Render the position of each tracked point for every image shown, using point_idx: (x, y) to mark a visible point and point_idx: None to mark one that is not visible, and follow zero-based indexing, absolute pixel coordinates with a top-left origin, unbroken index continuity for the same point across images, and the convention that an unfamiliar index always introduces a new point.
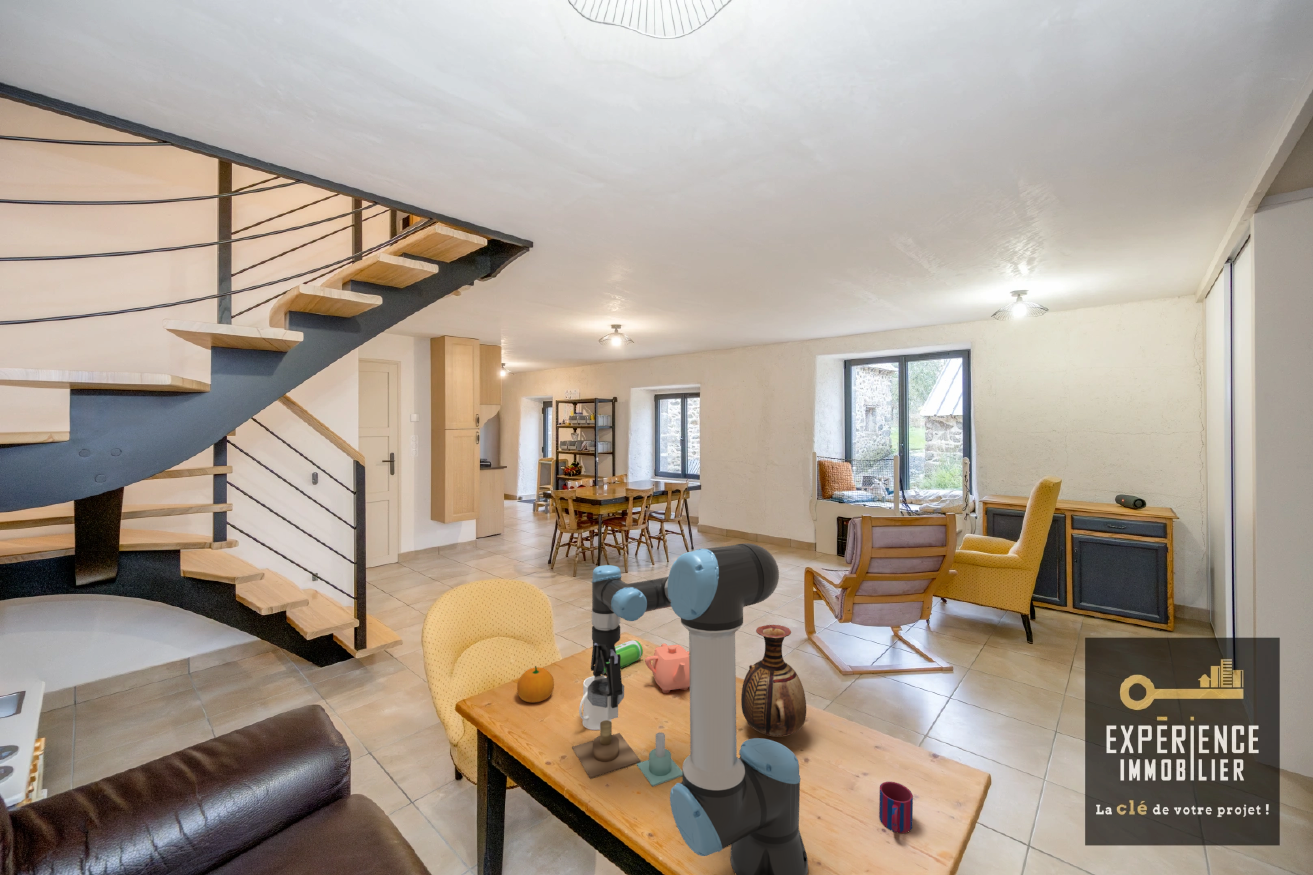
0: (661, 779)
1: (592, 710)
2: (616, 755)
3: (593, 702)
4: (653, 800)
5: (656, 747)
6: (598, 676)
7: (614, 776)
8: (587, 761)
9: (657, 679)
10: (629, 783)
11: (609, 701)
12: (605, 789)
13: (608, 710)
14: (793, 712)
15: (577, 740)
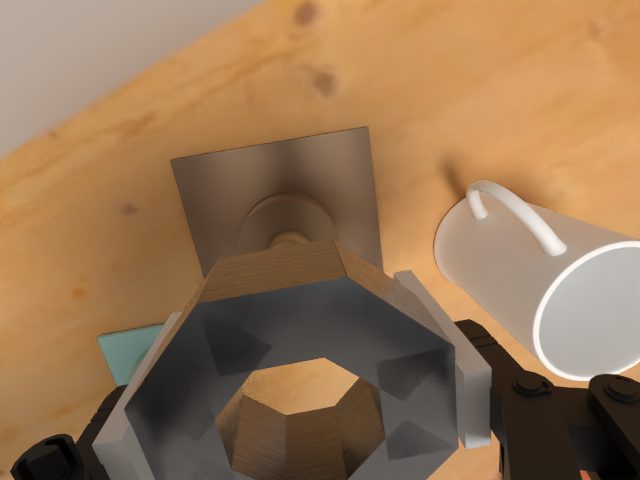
0: (119, 365)
1: (483, 240)
2: None
3: (209, 274)
4: (36, 324)
5: None
6: (483, 405)
7: (169, 240)
8: (262, 166)
9: (583, 476)
10: (125, 276)
11: (123, 401)
12: (107, 199)
13: (150, 348)
14: None
15: (404, 154)
